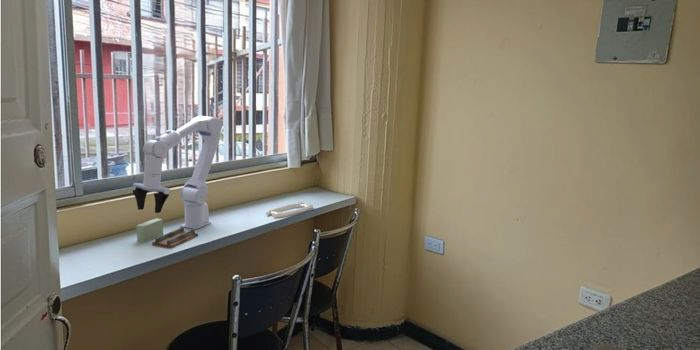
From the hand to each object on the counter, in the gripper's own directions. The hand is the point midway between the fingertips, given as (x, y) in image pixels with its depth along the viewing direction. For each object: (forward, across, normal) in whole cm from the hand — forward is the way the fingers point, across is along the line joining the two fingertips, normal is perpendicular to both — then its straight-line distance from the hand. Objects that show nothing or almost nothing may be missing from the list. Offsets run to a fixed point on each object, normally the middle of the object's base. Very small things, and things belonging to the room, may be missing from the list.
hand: (149, 211), depth 177 cm
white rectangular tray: (+2, +30, +55) cm, 63 cm away
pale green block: (+10, 0, +2) cm, 10 cm away
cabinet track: (+10, +10, +3) cm, 14 cm away
